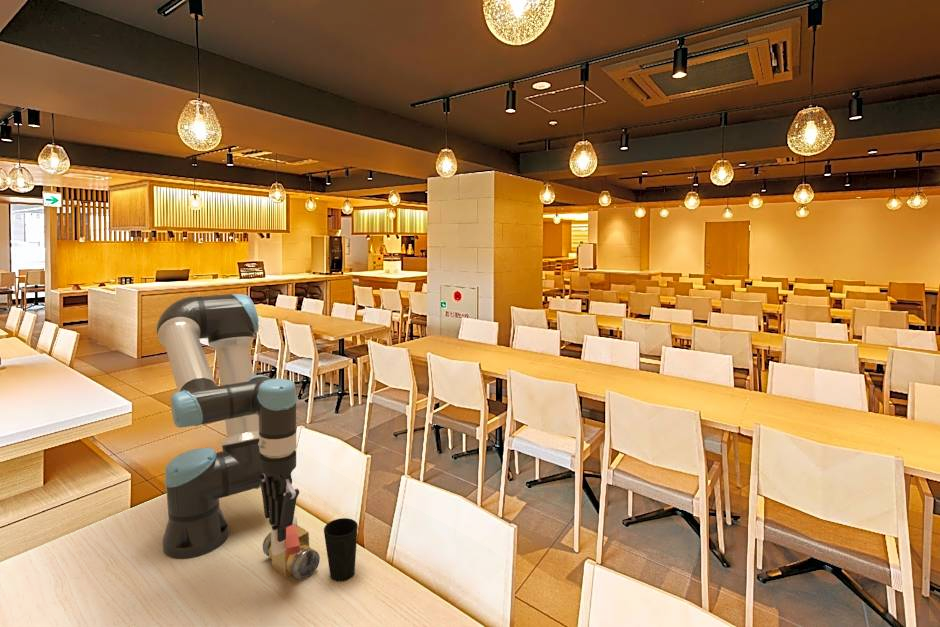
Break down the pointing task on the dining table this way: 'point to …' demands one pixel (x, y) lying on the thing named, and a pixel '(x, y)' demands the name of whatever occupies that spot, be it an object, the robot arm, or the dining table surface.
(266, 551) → the valve body
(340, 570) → the cup
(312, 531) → the dining table surface
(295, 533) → the lever
